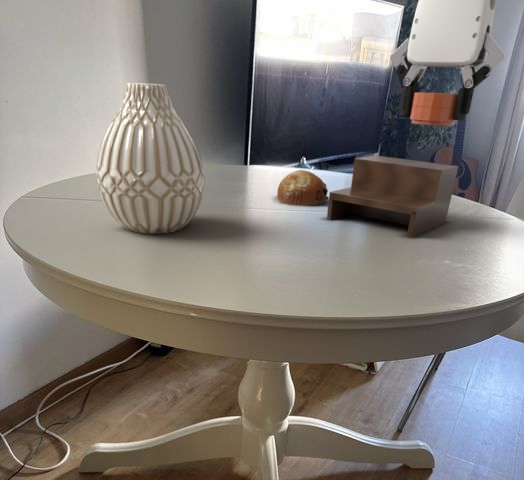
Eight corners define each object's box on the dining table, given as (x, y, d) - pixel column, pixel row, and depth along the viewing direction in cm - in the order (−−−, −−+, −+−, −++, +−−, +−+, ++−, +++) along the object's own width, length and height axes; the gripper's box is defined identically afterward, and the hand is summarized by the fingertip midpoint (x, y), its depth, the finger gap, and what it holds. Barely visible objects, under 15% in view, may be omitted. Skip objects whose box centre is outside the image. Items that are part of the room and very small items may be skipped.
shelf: (445, 223, 89) (458, 166, 84) (410, 239, 77) (423, 174, 73) (367, 208, 97) (375, 155, 92) (326, 220, 86) (333, 161, 81)
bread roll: (290, 212, 106) (277, 177, 103) (334, 196, 102) (322, 159, 99) (280, 222, 97) (265, 184, 95) (327, 205, 93) (314, 164, 90)
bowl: (461, 125, 71) (468, 94, 70) (447, 126, 67) (453, 93, 65) (418, 122, 75) (424, 93, 73) (402, 122, 70) (407, 92, 68)
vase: (80, 226, 74) (60, 78, 65) (157, 211, 86) (151, 83, 76) (149, 248, 66) (139, 83, 57) (225, 228, 77) (227, 88, 68)
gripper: (541, -35, 60) (501, 122, 69) (409, -24, 69) (388, 114, 78) (529, -49, 55) (487, 123, 63) (388, -35, 64) (368, 114, 72)
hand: (433, 117), depth 70 cm, fingers closed on bowl, 6 cm apart
